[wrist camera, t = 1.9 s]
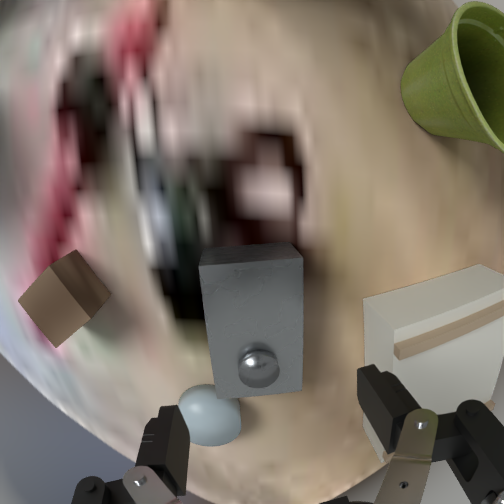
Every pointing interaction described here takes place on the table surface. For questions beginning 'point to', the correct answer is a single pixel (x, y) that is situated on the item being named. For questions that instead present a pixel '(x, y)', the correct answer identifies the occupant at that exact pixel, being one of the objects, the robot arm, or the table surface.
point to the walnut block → (64, 297)
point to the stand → (438, 340)
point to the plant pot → (461, 78)
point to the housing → (254, 318)
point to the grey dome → (210, 416)
